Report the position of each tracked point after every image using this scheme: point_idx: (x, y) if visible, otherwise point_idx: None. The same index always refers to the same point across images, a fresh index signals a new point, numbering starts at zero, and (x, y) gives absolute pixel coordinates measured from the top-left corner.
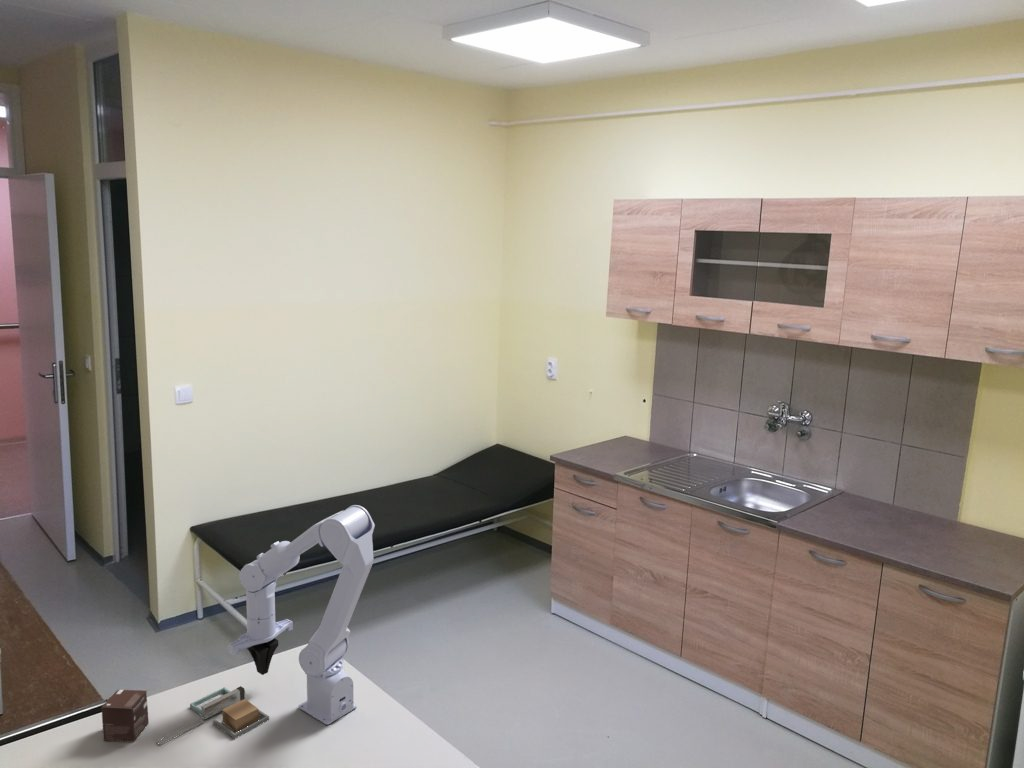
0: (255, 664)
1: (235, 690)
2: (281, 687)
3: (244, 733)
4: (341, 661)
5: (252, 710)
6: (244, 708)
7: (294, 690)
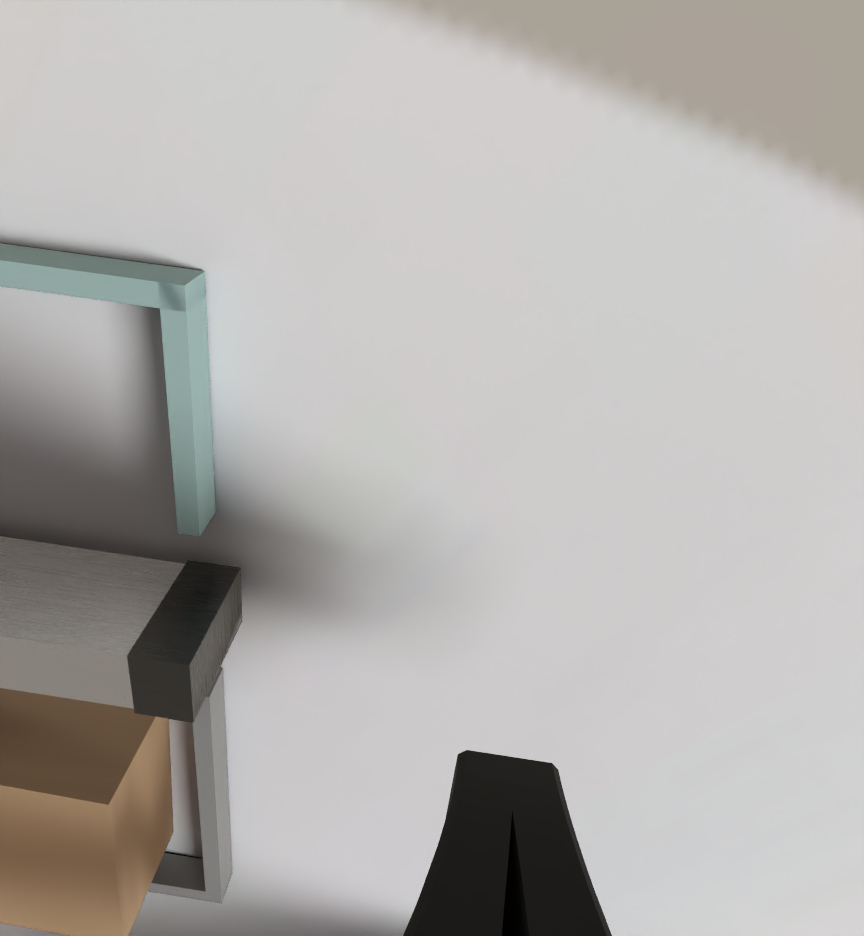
0: (435, 855)
1: (96, 671)
2: (627, 720)
3: None
4: None
5: (72, 929)
6: (33, 875)
7: (642, 820)
